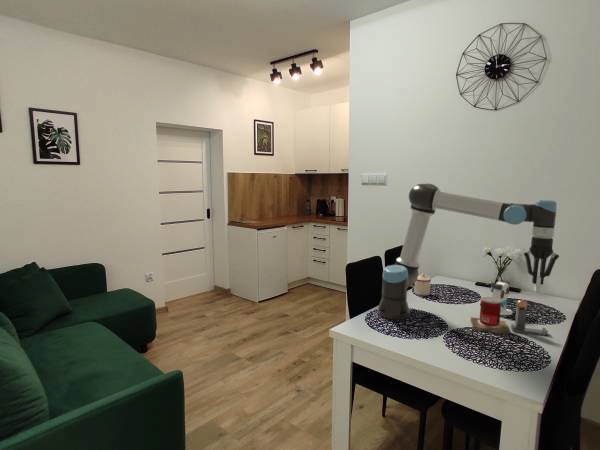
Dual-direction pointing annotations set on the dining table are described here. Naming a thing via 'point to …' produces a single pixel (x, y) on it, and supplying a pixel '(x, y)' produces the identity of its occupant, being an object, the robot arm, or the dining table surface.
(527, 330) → the lever rail
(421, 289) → the teacup with lid
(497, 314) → the canned food
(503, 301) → the panda figurine
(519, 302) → the press lever
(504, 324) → the plate
